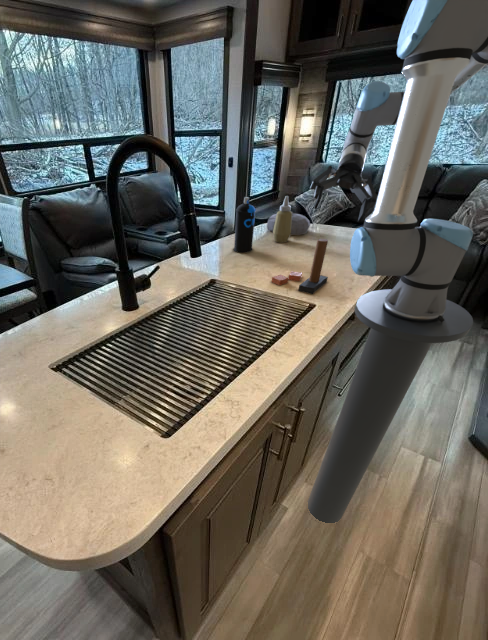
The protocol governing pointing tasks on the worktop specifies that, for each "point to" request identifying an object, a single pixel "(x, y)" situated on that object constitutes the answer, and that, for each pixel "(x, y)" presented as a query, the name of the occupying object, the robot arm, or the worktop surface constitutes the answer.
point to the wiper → (316, 270)
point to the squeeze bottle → (283, 222)
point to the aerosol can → (244, 227)
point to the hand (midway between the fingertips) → (339, 211)
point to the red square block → (279, 279)
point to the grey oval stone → (297, 226)
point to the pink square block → (295, 276)
